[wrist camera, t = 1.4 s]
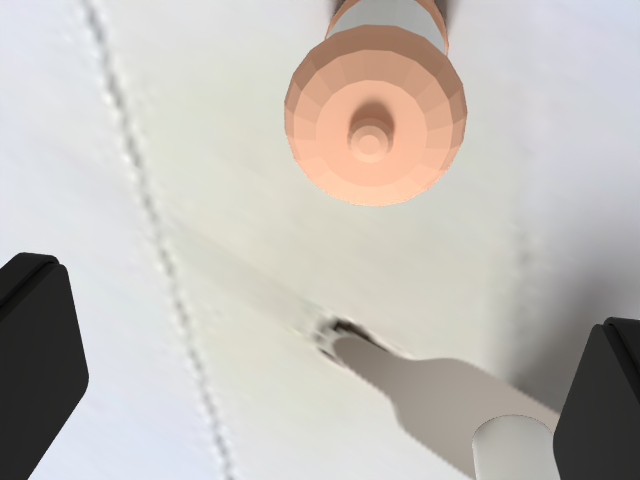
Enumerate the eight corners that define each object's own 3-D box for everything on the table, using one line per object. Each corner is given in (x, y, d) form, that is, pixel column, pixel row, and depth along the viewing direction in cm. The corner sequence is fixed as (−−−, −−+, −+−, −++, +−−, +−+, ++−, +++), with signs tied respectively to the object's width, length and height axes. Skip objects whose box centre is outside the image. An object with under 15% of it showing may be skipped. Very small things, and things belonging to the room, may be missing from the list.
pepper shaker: (427, 108, 38) (442, 255, 21) (320, 85, 38) (254, 213, 22) (460, -8, 34) (509, 61, 18) (342, -33, 34) (281, 12, 18)
